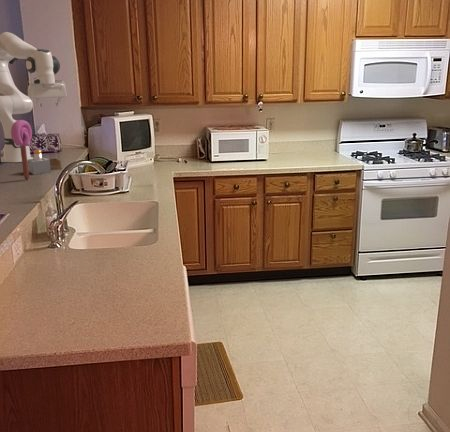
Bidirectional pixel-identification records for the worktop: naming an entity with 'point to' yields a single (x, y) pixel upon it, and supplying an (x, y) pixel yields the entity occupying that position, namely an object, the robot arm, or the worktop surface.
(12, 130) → the lollipop
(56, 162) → the mount
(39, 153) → the pin
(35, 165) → the socket
